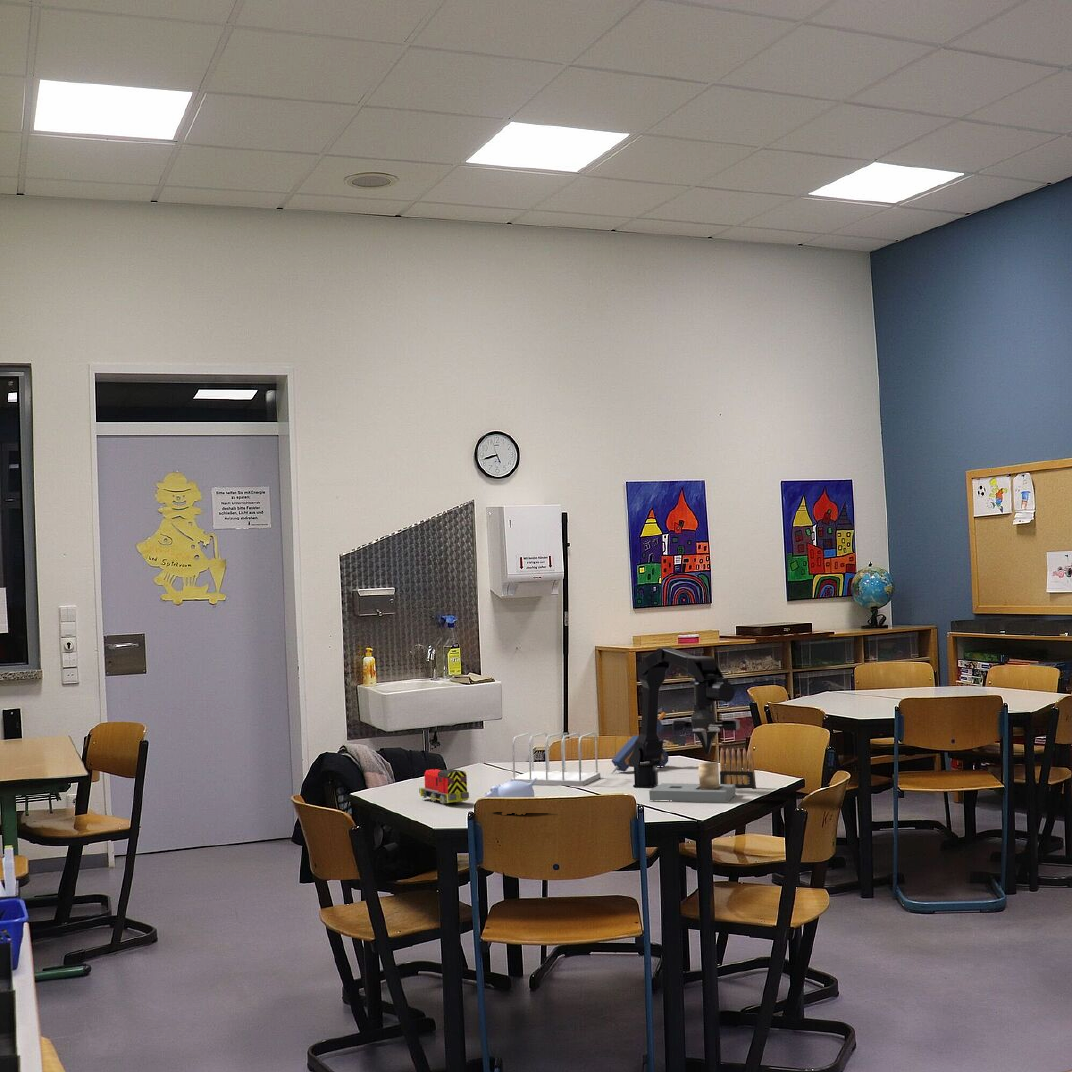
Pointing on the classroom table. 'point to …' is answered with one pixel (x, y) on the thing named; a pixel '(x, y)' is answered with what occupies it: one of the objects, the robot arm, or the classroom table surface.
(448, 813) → the classroom table surface
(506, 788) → the hippopotamus toy
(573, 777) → the file sorter
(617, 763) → the glue gun
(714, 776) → the beech peg
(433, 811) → the classroom table surface
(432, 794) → the toy train
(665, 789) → the two-hole board
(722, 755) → the ammunition clip
